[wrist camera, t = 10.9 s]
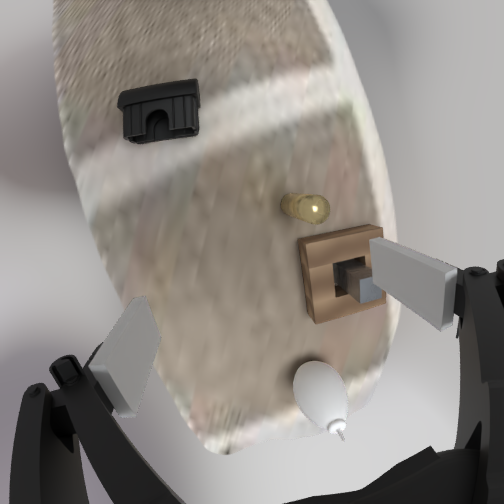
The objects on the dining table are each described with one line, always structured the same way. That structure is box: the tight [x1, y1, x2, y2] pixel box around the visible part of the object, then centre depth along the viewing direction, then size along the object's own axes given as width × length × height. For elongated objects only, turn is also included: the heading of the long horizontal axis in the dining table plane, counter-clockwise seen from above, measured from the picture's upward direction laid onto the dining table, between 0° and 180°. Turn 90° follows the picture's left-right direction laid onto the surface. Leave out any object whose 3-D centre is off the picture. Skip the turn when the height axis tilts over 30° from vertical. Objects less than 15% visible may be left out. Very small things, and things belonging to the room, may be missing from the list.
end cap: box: [117, 79, 200, 144], centre depth 31 cm, size 10×7×7 cm
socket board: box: [298, 224, 386, 324], centre depth 40 cm, size 12×12×4 cm
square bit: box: [332, 258, 382, 304], centre depth 37 cm, size 3×3×10 cm
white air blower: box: [293, 361, 348, 442], centre depth 37 cm, size 8×8×18 cm
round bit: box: [281, 193, 330, 224], centre depth 34 cm, size 3×3×10 cm
